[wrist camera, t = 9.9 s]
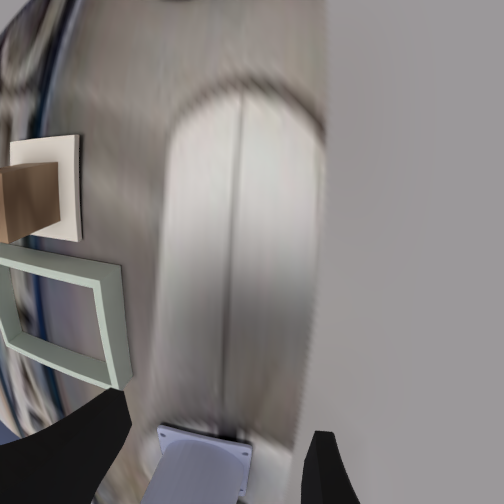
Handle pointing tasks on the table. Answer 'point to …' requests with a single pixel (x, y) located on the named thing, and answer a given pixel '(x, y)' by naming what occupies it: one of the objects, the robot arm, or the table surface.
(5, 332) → the green rectangular frame
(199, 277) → the table surface
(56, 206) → the walnut block
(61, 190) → the tile
